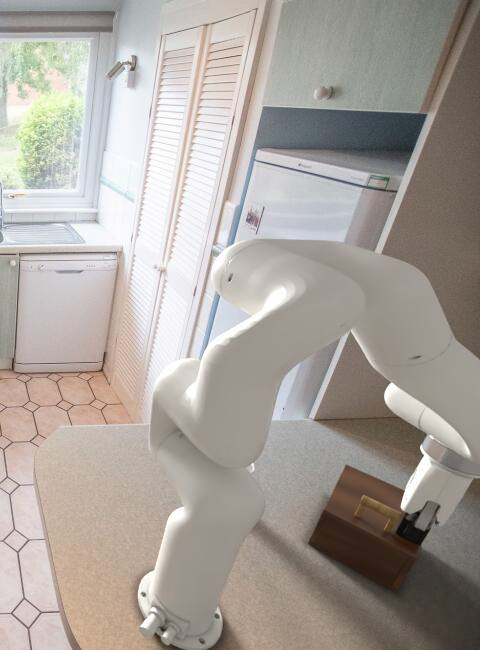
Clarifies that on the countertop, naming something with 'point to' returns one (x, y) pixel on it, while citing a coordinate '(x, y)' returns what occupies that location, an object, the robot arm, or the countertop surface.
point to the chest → (361, 552)
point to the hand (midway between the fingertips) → (408, 536)
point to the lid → (370, 509)
